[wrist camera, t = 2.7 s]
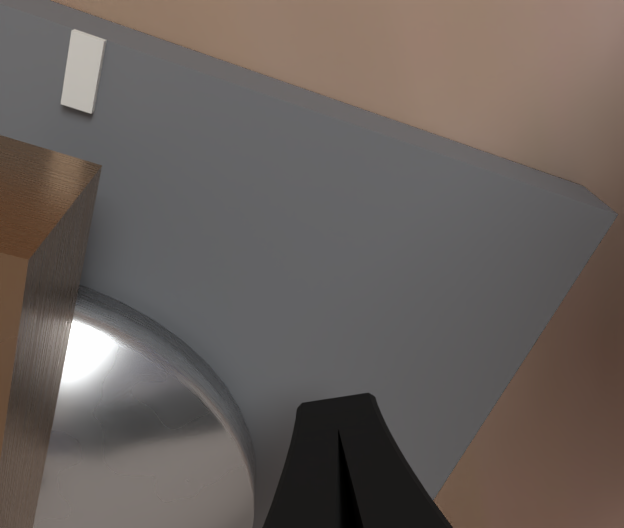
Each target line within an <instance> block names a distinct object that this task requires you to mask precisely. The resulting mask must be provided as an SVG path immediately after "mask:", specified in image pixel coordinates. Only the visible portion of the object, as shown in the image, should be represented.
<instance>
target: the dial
mask: <svg viewBox="0 0 624 528" xmlns="http://www.w3.org/2000/svg"><path fill="white" fill-rule="evenodd" d="M101 169H102V165H99V164H96V163H92V162H89V161H86V160H82V159H79V158H76V157H72V156H69V155H66V154H62V153H59V152H56V151H52V150H49V149H46V148H42V147H39V146H35V145H32V144H29V143H25V142H22V141H19V140H15V139H12V138H9V137H5V136H2V135H0V528H252V527H253V520H254V501H255V478H256V472H255V453H254V448H253V444H252V440H251V436H250V431H249V429H248V426H247V424H246V422H245V419H244V417H243V414H242V412H241V410H240V407H239V406H238V404H237V403H236V401H235V399H234V398H233V396H232V395H231V393H230V391H229V390H228V388H227V387H226V385H225V384H224V382H223V381H222V380H221V379H220V378H219V376H218V375H217V374H216V373H215V372H214V371H213V369H212V368H211V367H210V366H209V365H208V363H207V362H206V361H205V360H204V359H203V358H201V357H200V356H199V355H198V354H197V353H196V352H195V351H194V350H193V349H192V348H191V347H189V346H188V345H187V344H186V343H185V342H184V341H183V340H182V339H180V338H179V337H177V336H176V335H175V334H173V333H172V332H170V331H169V330H168V329H166V328H165V327H163V326H162V325H161V324H159V323H158V322H157V321H155V320H154V319H152V318H150V317H148V316H146V315H145V314H143V313H141V312H139V311H137V310H136V309H134V308H132V307H130V306H129V305H127V304H125V303H123V302H121V301H119V300H116V299H114V298H112V297H109V296H107V295H105V294H102V293H100V292H98V291H95V290H93V289H91V288H88V287H86V286H83V285H79V284H80V279H81V274H82V268H83V263H84V258H85V253H86V247H87V242H88V237H89V232H90V227H91V221H92V216H93V211H94V206H95V201H96V195H97V190H98V185H99V180H100V174H101Z"/></svg>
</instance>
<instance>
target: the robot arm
mask: <svg viewBox="0 0 624 528" xmlns="http://www.w3.org/2000/svg"><path fill="white" fill-rule="evenodd" d="M262 528H453V527H452V526H451V525H450V523H449V522H448V521H447V519H446V518H445V516H444V515H443V514H442V512H441V511H440V510H439V508H438V507H437V506H436V504H435V503H434V501H433V500H432V498H431V497H430V496H429V494H428V493H427V491H426V490H425V488H424V487H423V485H422V484H421V482H420V481H419V479H418V477H417V476H416V474H415V473H414V471H413V470H412V468H411V467H410V465H409V464H408V462H407V460H406V459H405V457H404V455H403V454H402V452H401V450H400V449H399V447H398V445H397V443H396V441H395V440H394V438H393V436H392V434H391V432H390V430H389V428H388V426H387V424H386V422H385V420H384V418H383V416H382V414H381V411H380V409H379V406H378V404H377V401H376V397H375V396H373V395H372V394H370V393H362V394H356V395H349V396H343V397H336V398H330V399H323V400H317V401H310V402H303V403H301V404H300V405H299V407H298V408H297V411H296V419H295V424H294V429H293V434H292V438H291V442H290V446H289V450H288V453H287V457H286V461H285V464H284V468H283V471H282V474H281V477H280V480H279V483H278V486H277V489H276V492H275V495H274V498H273V501H272V504H271V507H270V509H269V512H268V515H267V517H266V520H265V522H264V525H263V527H262Z"/></svg>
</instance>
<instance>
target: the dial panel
mask: <svg viewBox="0 0 624 528" xmlns="http://www.w3.org/2000/svg"><path fill="white" fill-rule="evenodd" d="M0 135H2V136H5V137H9V138H12V139H15V140H19V141H22V142H25V143H29V144H32V145H35V146H39V147H42V148H46V149H49V150H52V151H56V152H59V153H62V154H66V155H69V156H72V157H76V158H79V159H82V160H86V161H89V162H92V163H96V164H99V165H102V169H101V174H100V180H99V185H98V190H97V195H96V201H95V206H94V211H93V216H92V221H91V227H90V232H89V237H88V242H87V247H86V253H85V258H84V263H83V268H82V274H81V279H80V284H79V285H83V286H86V287H88V288H91V289H93V290H95V291H98V292H100V293H102V294H105V295H107V296H109V297H112V298H114V299H116V300H119V301H121V302H123V303H125V304H127V305H129V306H130V307H132V308H134V309H136V310H137V311H139V312H141V313H143V314H145V315H146V316H148V317H150V318H152V319H154V320H155V321H157V322H158V323H159V324H161V325H162V326H163V327H165V328H166V329H168V330H169V331H170V332H172V333H173V334H175V335H176V336H177V337H179V338H180V339H182V340H183V341H184V342H185V343H186V344H187V345H188V346H189V347H191V348H192V349H193V350H194V351H195V352H196V353H197V354H198V355H199V356H200V357H201V358H203V359H204V360H205V361H206V362H207V363H208V365H209V366H210V367H211V368H212V369H213V371H214V372H215V373H216V374H217V375H218V376H219V378H220V379H221V380H222V381H223V382H224V384H225V385H226V387H227V388H228V390H229V391H230V393H231V395H232V396H233V398H234V399H235V401H236V403H237V404H238V406H239V407H240V410H241V412H242V414H243V417H244V419H245V422H246V424H247V426H248V429H249V431H250V436H251V440H252V444H253V448H254V453H255V472H256V478H255V501H254V520H253V527H252V528H262V527H263V525H264V522H265V520H266V517H267V515H268V512H269V509H270V507H271V504H272V501H273V498H274V495H275V492H276V489H277V486H278V483H279V480H280V477H281V474H282V471H283V468H284V464H285V461H286V457H287V453H288V450H289V446H290V442H291V438H292V434H293V429H294V424H295V419H296V411H297V408H298V407H299V405H300V404H301V403H303V402H310V401H317V400H323V399H330V398H336V397H343V396H349V395H356V394H362V393H370V394H372V395H373V396H375V397H376V401H377V404H378V406H379V409H380V411H381V414H382V416H383V418H384V420H385V422H386V424H387V426H388V428H389V430H390V432H391V434H392V436H393V438H394V440H395V441H396V443H397V445H398V447H399V449H400V450H401V452H402V454H403V455H404V457H405V459H406V460H407V462H408V464H409V465H410V467H411V468H412V470H413V471H414V473H415V474H416V476H417V477H418V479H419V481H420V482H421V484H422V485H423V487H424V488H425V490H426V491H427V493H428V494H429V496H430V497H431V498H432V500H434V498H435V497H436V495H437V494H438V492H439V491H440V489H441V488H442V486H443V484H444V483H445V481H446V480H447V478H448V477H449V475H450V474H451V472H452V471H453V469H454V467H455V466H456V464H457V463H458V461H459V460H460V458H461V457H462V455H463V454H464V452H465V450H466V449H467V447H468V446H469V444H470V443H471V441H472V440H473V438H474V437H475V435H476V433H477V432H478V430H479V429H480V427H481V426H482V424H483V423H484V421H485V420H486V418H487V416H488V415H489V413H490V412H491V410H492V409H493V407H494V406H495V404H496V403H497V401H498V399H499V398H500V396H501V395H502V393H503V392H504V390H505V389H506V387H507V386H508V384H509V383H510V381H511V379H512V378H513V376H514V375H515V373H516V372H517V370H518V369H519V367H520V366H521V364H522V362H523V361H524V359H525V358H526V356H527V355H528V353H529V352H530V350H531V349H532V347H533V345H534V344H535V342H536V341H537V339H538V338H539V336H540V335H541V333H542V332H543V330H544V328H545V327H546V325H547V324H548V322H549V321H550V319H551V318H552V316H553V315H554V313H555V311H556V310H557V308H558V307H559V305H560V304H561V302H562V301H563V299H564V298H565V296H566V294H567V293H568V291H569V290H570V288H571V287H572V285H573V284H574V282H575V281H576V279H577V277H578V276H579V274H580V273H581V271H582V270H583V268H584V267H585V265H586V264H587V262H588V260H589V259H590V257H591V256H592V254H593V253H594V251H595V250H596V248H597V247H598V245H599V243H600V242H601V240H602V239H603V237H604V236H605V234H606V233H607V231H608V230H609V228H610V227H611V225H612V223H613V222H614V220H615V219H616V217H617V216H618V214H617V213H616V212H614V211H613V210H612V209H611V208H610V207H608V206H607V205H606V204H605V203H603V202H602V201H601V200H600V199H598V198H597V197H596V196H595V195H594V194H592V193H591V192H590V191H589V190H587V189H586V188H585V187H584V186H582V185H579V184H576V183H573V182H570V181H567V180H564V179H562V178H559V177H556V176H553V175H550V174H547V173H544V172H541V171H539V170H536V169H533V168H530V167H527V166H524V165H521V164H518V163H516V162H513V161H510V160H507V159H504V158H501V157H498V156H495V155H493V154H490V153H487V152H484V151H481V150H478V149H475V148H472V147H470V146H467V145H464V144H461V143H458V142H455V141H452V140H449V139H447V138H444V137H441V136H438V135H435V134H432V133H429V132H426V131H424V130H421V129H418V128H415V127H412V126H409V125H406V124H404V123H401V122H398V121H395V120H392V119H389V118H386V117H383V116H381V115H378V114H375V113H372V112H369V111H366V110H363V109H360V108H358V107H355V106H352V105H349V104H346V103H343V102H340V101H337V100H335V99H332V98H329V97H326V96H323V95H320V94H317V93H314V92H312V91H309V90H306V89H303V88H300V87H297V86H294V85H291V84H289V83H286V82H283V81H280V80H277V79H274V78H271V77H268V76H266V75H263V74H260V73H257V72H254V71H251V70H248V69H245V68H243V67H240V66H237V65H234V64H231V63H228V62H225V61H222V60H220V59H217V58H214V57H211V56H208V55H205V54H202V53H199V52H197V51H194V50H191V49H188V48H185V47H182V46H179V45H176V44H174V43H171V42H168V41H165V40H162V39H159V38H156V37H153V36H151V35H148V34H145V33H142V32H139V31H136V30H133V29H131V28H128V27H125V26H122V25H119V24H116V23H113V22H110V21H108V20H105V19H102V18H99V17H96V16H93V15H90V14H87V13H85V12H82V11H79V10H76V9H73V8H70V7H67V6H64V5H62V4H59V3H56V2H53V1H50V0H0Z"/></svg>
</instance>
